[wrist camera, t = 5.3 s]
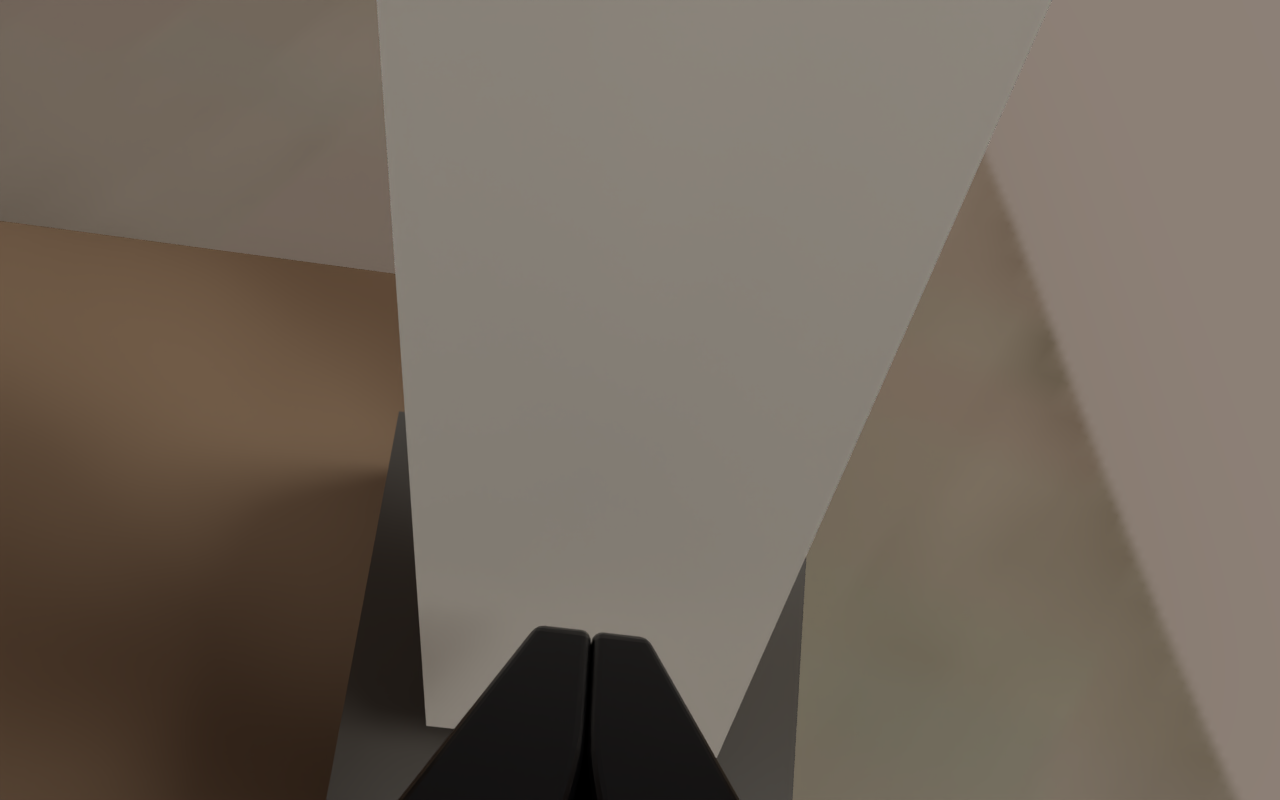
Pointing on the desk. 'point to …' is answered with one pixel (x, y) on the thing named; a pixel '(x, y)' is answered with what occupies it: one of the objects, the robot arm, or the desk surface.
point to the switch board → (228, 535)
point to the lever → (658, 299)
